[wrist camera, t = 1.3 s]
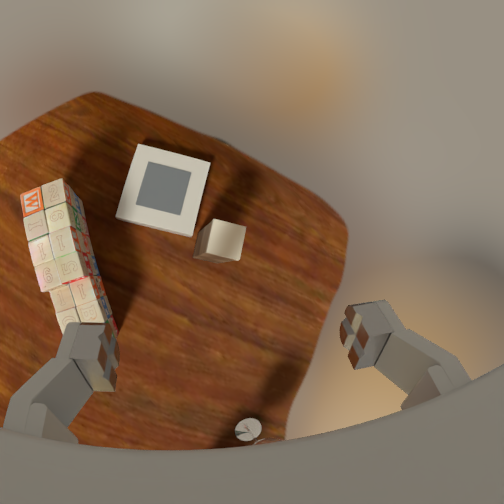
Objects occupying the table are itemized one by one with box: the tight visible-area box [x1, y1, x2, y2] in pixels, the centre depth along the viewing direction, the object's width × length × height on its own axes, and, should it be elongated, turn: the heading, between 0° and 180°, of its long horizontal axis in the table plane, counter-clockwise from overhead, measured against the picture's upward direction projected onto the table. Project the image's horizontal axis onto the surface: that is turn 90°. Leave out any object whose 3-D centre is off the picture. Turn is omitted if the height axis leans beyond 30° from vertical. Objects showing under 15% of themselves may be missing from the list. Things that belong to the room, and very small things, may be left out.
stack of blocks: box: [20, 178, 119, 339], centre depth 35 cm, size 21×6×12 cm, turn 17°
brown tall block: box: [193, 219, 246, 263], centre depth 42 cm, size 4×4×12 cm
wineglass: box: [235, 418, 282, 445], centre depth 42 cm, size 7×7×12 cm
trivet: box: [116, 144, 210, 237], centre depth 45 cm, size 12×12×2 cm
